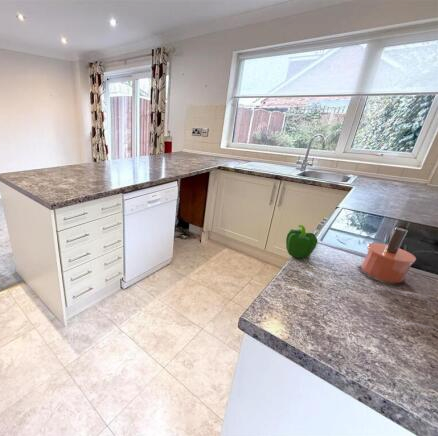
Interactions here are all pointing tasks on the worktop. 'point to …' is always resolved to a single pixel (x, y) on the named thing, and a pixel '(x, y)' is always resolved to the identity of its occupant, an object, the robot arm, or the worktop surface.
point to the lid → (393, 248)
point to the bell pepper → (300, 243)
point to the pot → (384, 268)
